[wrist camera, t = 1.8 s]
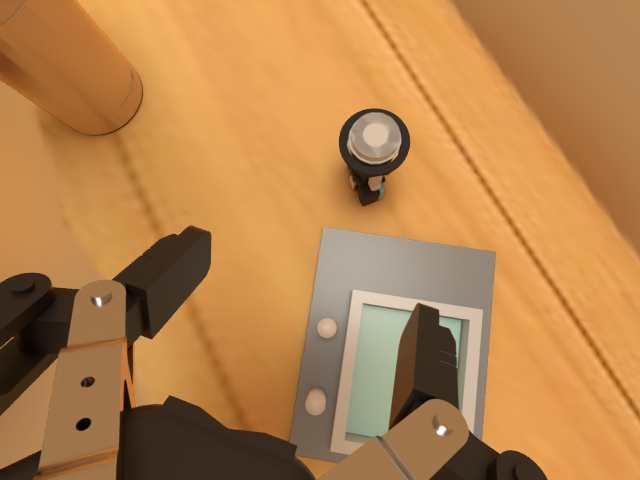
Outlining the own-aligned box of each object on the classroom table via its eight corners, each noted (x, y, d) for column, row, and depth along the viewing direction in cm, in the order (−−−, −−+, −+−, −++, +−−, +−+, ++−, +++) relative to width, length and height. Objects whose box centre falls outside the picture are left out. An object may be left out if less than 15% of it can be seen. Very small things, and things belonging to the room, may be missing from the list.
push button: (326, 155, 37) (322, 100, 27) (375, 137, 37) (388, 76, 28) (350, 215, 36) (355, 179, 26) (400, 195, 36) (424, 153, 26)
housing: (288, 449, 32) (282, 468, 28) (323, 229, 36) (322, 219, 32) (473, 484, 31) (493, 509, 27) (491, 253, 35) (511, 246, 31)
